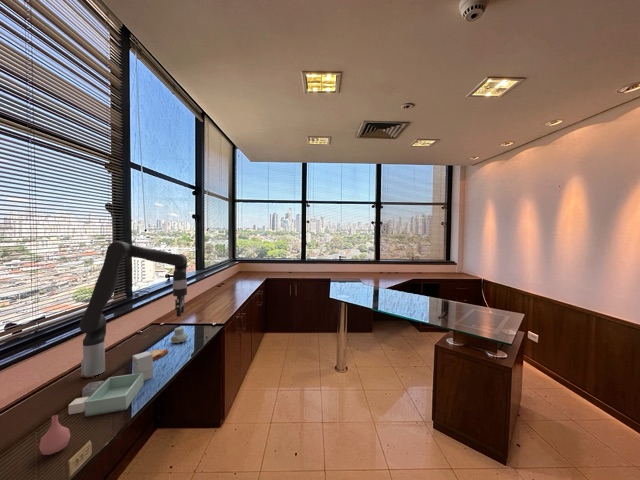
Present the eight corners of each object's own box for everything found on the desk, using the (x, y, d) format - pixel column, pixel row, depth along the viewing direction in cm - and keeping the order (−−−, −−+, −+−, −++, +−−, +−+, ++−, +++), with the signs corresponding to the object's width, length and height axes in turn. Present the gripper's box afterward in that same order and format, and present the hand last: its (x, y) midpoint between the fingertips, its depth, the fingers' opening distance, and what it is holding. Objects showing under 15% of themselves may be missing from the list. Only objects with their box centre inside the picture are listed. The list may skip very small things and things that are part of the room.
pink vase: (51, 461, 88) (50, 424, 88) (32, 458, 90) (32, 422, 90) (76, 444, 96) (75, 410, 96) (59, 441, 97) (58, 408, 97)
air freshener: (168, 343, 193) (168, 329, 193) (178, 339, 201) (177, 326, 201) (180, 344, 190) (180, 330, 190) (189, 340, 198) (189, 327, 198)
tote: (85, 416, 111) (84, 402, 112) (109, 389, 132) (109, 377, 132) (126, 409, 116) (125, 395, 116) (143, 384, 136) (143, 372, 136)
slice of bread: (137, 368, 156) (137, 361, 156) (134, 358, 170) (134, 352, 170) (172, 359, 167) (171, 353, 167) (166, 350, 181) (166, 344, 181)
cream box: (68, 414, 113) (68, 405, 113) (75, 407, 118) (75, 398, 118) (83, 412, 115) (82, 402, 115) (89, 405, 120) (89, 396, 120)
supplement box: (148, 373, 148) (147, 350, 148) (153, 377, 143) (153, 353, 143) (132, 379, 142) (132, 355, 142) (137, 383, 137) (136, 358, 137)
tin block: (82, 399, 124) (82, 389, 124) (89, 393, 130) (89, 382, 130) (98, 397, 126) (97, 386, 126) (104, 390, 132) (104, 380, 132)
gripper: (175, 286, 167) (176, 312, 167) (170, 289, 153) (170, 318, 153) (188, 285, 169) (189, 311, 169) (184, 288, 156) (185, 317, 155)
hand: (180, 314), depth 161 cm, fingers open, 8 cm apart
